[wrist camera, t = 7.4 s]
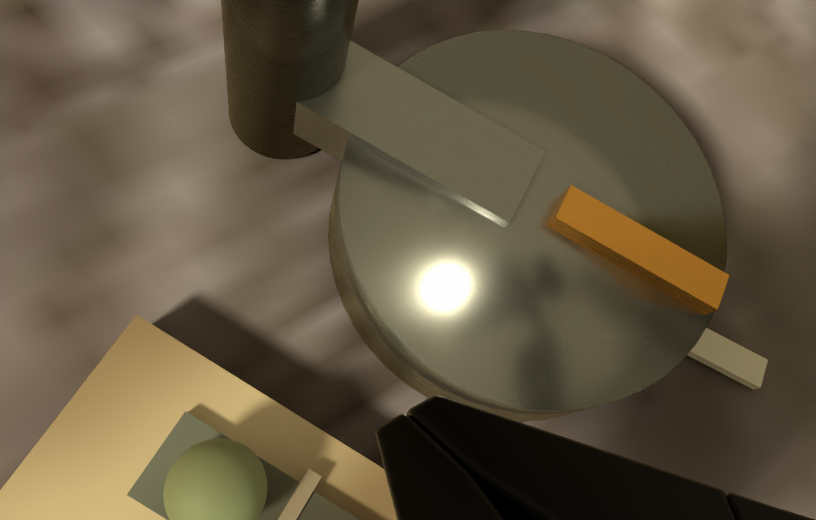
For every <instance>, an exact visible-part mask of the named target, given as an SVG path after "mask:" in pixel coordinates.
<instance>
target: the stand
mask: <svg viewBox="0 0 816 520" xmlns="http://www.w3.org/2000/svg"><path fill="white" fill-rule="evenodd" d="M0 520H397V517H396V513H395V509H394V505H393V502H392V498H391V494H390V490H389V486H388V482H387V478H386V474H385V470H384V469H383V468H382V467H380V466H378V465H377V464H375V463H374V462H372V461H370V460H369V459H367V458H366V457H364V456H362V455H361V454H359V453H358V452H356V451H354V450H353V449H351V448H350V447H348V446H346V445H345V444H343V443H341V442H340V441H338V440H337V439H335V438H333V437H332V436H330V435H329V434H327V433H325V432H324V431H322V430H321V429H319V428H317V427H316V426H314V425H313V424H311V423H309V422H308V421H306V420H305V419H303V418H301V417H300V416H298V415H297V414H295V413H293V412H292V411H290V410H289V409H287V408H285V407H284V406H282V405H281V404H279V403H277V402H276V401H274V400H272V399H271V398H269V397H268V396H266V395H264V394H263V393H261V392H260V391H258V390H256V389H255V388H253V387H252V386H250V385H248V384H247V383H245V382H244V381H242V380H240V379H239V378H237V377H236V376H234V375H232V374H231V373H229V372H228V371H226V370H224V369H223V368H221V367H220V366H218V365H216V364H215V363H213V362H212V361H210V360H208V359H207V358H205V357H204V356H202V355H200V354H199V353H197V352H195V351H194V350H192V349H191V348H189V347H187V346H186V345H184V344H183V343H181V342H179V341H178V340H176V339H175V338H173V337H171V336H170V335H168V334H167V333H165V332H163V331H162V330H160V329H159V328H157V327H155V326H154V325H152V324H151V323H149V322H147V321H146V320H144V319H143V318H141V317H139V316H138V315H136V316H135V317H134V319H133V320H132V321H131V323H130V324H129V325H128V326H127V328H126V329H125V330H124V332H123V333H122V334H121V335H120V337H119V338H118V339H117V341H116V342H115V343H114V344H113V346H112V347H111V348H110V350H109V351H108V352H107V354H106V355H105V356H104V357H103V359H102V360H101V361H100V363H99V364H98V365H97V366H96V368H95V369H94V370H93V372H92V373H91V374H90V375H89V377H88V378H87V379H86V381H85V382H84V383H83V384H82V386H81V387H80V388H79V390H78V391H77V392H76V394H75V395H74V396H73V397H72V399H71V400H70V401H69V403H68V404H67V405H66V406H65V408H64V409H63V410H62V412H61V413H60V414H59V415H58V417H57V418H56V419H55V421H54V422H53V423H52V425H51V426H50V427H49V428H48V430H47V431H46V432H45V434H44V435H43V436H42V437H41V439H40V440H39V441H38V443H37V444H36V445H35V446H34V448H33V449H32V450H31V452H30V453H29V454H28V455H27V457H26V458H25V459H24V461H23V462H22V463H21V465H20V466H19V467H18V468H17V470H16V471H15V472H14V474H13V475H12V476H11V477H10V479H9V480H8V481H7V483H6V484H5V485H4V486H3V488H2V489H1V490H0Z"/></svg>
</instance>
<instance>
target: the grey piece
mask: <svg viewBox="0 0 816 520" xmlns="http://www.w3.org/2000/svg"><path fill="white" fill-rule="evenodd" d="M358 1H359V0H221V7H222V21H223V35H224V49H225V63H226V78H227V92H228V106H229V117H230V122H231V125H232V128H233V129H234V131H235V133H236V135H237V136H238V137H239V139H240V140H241V141H242V142H243V143H244V144H245V145H246V146H247V147H249V148H250V149H252V150H253V151H255V152H257V153H259V154H261V155H264V156H266V157H270V158H274V159H295V158H299V157H303V156H305V155H308V154H310V153H312V152H313V151H315V150H316V149H318V148H319V149H321V150H323V151H325V152H326V153H328V154H330V155H332V156H333V157H335V158H337V159H339V160H341V161H342V163H341V167H340V171H339V175H338V179H337V183H336V187H335V191H334V195H333V200H332V205H331V210H330V217H329V234H328V238H329V251H330V261H331V265H332V270H333V275H334V279H335V283H336V286H337V289H338V292H339V294H340V297H341V300H342V302H343V305H344V307H345V309H346V311H347V313H348V315H349V317H350V319H351V321H352V323H353V325H354V326H355V328H356V330H357V331H358V333H359V334H360V335H361V337H362V338H363V340H364V341H365V343H366V344H367V345H368V347H369V348H370V349H371V350H372V352H373V353H374V354H375V355H376V356H377V357H378V358H379V359H380V360H381V361H382V363H383V364H384V365H385V366H386V367H387V368H388V369H389V370H391V371H392V372H393V373H394V374H395V375H396V376H398V377H399V378H400V379H401V380H402V381H404V382H405V383H406V384H407V385H409V386H410V387H412V388H413V389H415V390H417V391H418V392H420V393H421V394H423V395H424V396H426V397H427V398H430V397H432V396H442V397H445V398H448V399H451V400H454V401H457V402H460V403H463V404H466V405H469V406H472V407H475V408H478V409H481V410H484V411H487V412H490V413H493V414H496V415H499V416H502V417H505V418H508V419H511V420H514V421H517V422H527V421H537V420H546V419H550V418H554V417H558V416H562V415H566V414H570V413H574V412H577V411H581V410H585V409H589V408H592V407H596V406H600V405H603V404H607V403H611V402H614V401H618V400H620V399H623V398H625V397H628V396H630V395H632V394H635V393H637V392H640V391H642V390H643V389H645V388H647V387H648V386H650V385H652V384H653V383H655V382H656V381H658V380H660V379H661V378H663V377H664V376H665V375H666V374H667V373H669V372H670V371H671V370H672V369H673V368H674V367H676V366H677V365H678V364H679V363H680V362H681V361H682V360H683V359H684V358H685V357H686V355H687V354H688V353H689V352H690V351H691V350H692V348H693V347H694V346H695V345H696V344H697V342H698V340H699V339H700V337H701V336H702V334H703V332H704V331H705V329H706V327H707V326H708V324H709V322H710V320H711V317H712V315H713V313H714V311H716V310H718V307H719V305H720V302H721V299H722V296H723V293H724V290H725V287H726V284H727V281H728V278H729V275H728V274H726V273H725V266H726V258H727V249H726V227H725V220H724V212H723V207H722V204H721V200H720V196H719V192H718V188H717V185H716V183H715V180H714V177H713V175H712V172H711V170H710V167H709V165H708V163H707V161H706V159H705V157H704V155H703V153H702V151H701V149H700V147H699V145H698V143H697V142H696V140H695V139H694V137H693V136H692V134H691V133H690V131H689V130H688V128H687V127H686V125H685V124H684V122H683V121H682V120H681V119H680V118H679V116H678V115H677V114H676V113H675V112H674V110H673V109H672V108H671V107H670V105H669V104H668V103H667V102H666V101H665V100H664V99H663V98H662V97H661V96H660V95H659V94H658V93H657V92H655V91H654V90H653V89H652V88H651V87H650V86H649V85H648V84H646V83H645V82H644V81H643V80H641V79H640V78H639V77H638V76H636V75H635V74H634V73H633V72H631V71H630V70H628V69H627V68H625V67H623V66H622V65H620V64H619V63H617V62H616V61H614V60H613V59H611V58H609V57H607V56H605V55H603V54H601V53H599V52H597V51H595V50H593V49H591V48H588V47H586V46H583V45H581V44H578V43H575V42H573V41H570V40H567V39H563V38H559V37H556V36H552V35H548V34H543V33H536V32H529V31H520V30H493V31H482V32H474V33H470V34H465V35H461V36H456V37H453V38H450V39H447V40H445V41H442V42H439V43H436V44H434V45H432V46H430V47H428V48H426V49H424V50H422V51H420V52H418V53H417V54H415V55H413V56H412V57H410V58H409V59H408V60H406V61H405V62H403V63H402V64H401V65H399V66H398V67H396V66H394V65H393V64H391V63H389V62H387V61H386V60H384V59H382V58H380V57H379V56H377V55H375V54H373V53H372V52H370V51H368V50H366V49H365V48H363V47H361V46H359V45H358V44H356V43H354V42H352V41H351V35H352V30H353V25H354V21H355V16H356V11H357V6H358Z"/></svg>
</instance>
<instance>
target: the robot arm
mask: <svg viewBox="0 0 816 520" xmlns="http://www.w3.org/2000/svg"><path fill="white" fill-rule="evenodd" d="M376 439H377V443H378V446H379V450H380V454H381V458H382V462H383V466H384V470H385V474H386V478H387V482H388V486H389V490H390V494H391V498H392V502H393V505H394V509H395V513H396V517H397V520H815V519H811V518H808V517H805V516H802V515H798V514H795V513H792V512H789V511H785V510H782V509H779V508H776V507H773V506H769V505H766V504H763V503H760V502H757V501H754V500H751V499H748V498H745V497H742V496H739V495H736V494H733V493H729V494H728V495H727V497H726V495H725V493H724V492H723V491H722V490H720V489H717V488H714V487H711V486H709V485H706V484H703V483H700V482H697V481H694V480H691V479H688V478H685V477H682V476H679V475H676V474H673V473H670V472H667V471H664V470H661V469H658V468H655V467H652V466H649V465H646V464H643V463H640V462H637V461H634V460H631V459H628V458H625V457H622V456H619V455H616V454H613V453H610V452H607V451H604V450H601V449H598V448H595V447H592V446H589V445H586V444H583V443H580V442H577V441H574V440H571V439H568V438H565V437H562V436H559V435H556V434H553V433H550V432H547V431H544V430H541V429H538V428H535V427H532V426H529V425H526V424H523V423H520V422H517V421H514V420H511V419H508V418H505V417H502V416H499V415H496V414H493V413H490V412H487V411H484V410H481V409H478V408H475V407H472V406H469V405H466V404H463V403H460V402H457V401H454V400H451V399H448V398H445V397H442V396H432V397H430V398H429V399H427V400H425V401H423V402H422V403H420V404H418V405H416V406H415V407H413V408H411V409H410V410H409V411H408V413H407V415H404V414H401V415H399V416H397V417H395V418H394V419H392V420H390V421H388V422H387V423H385V424H383V425H381V426H380V427H378V428H377V430H376Z"/></svg>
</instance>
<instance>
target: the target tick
mask: <svg viewBox="0 0 816 520" xmlns="http://www.w3.org/2000/svg"><path fill="white" fill-rule="evenodd" d="M687 355H688V356H690V357H691V358H693V359H695V360H697V361H699V362H701V363H703V364H705V365H707V366H709V367H711V368H713V369H715V370H716V371H718V372H720V373H722V374H724V375H726V376H728V377H730V378H732V379H734V380H736V381H738V382H740V383H741V384H743V385H745V386H747V387H749V388H751V389H758V388H761V385H762V381H763V377H764V373H765V370H766V366H767V362H768V360H767V359H765V358H763V357H761V356H760V355H758V354H756V353H754V352H752V351H750V350H748V349H746V348H744V347H742V346H740V345H738V344H737V343H735V342H733V341H731V340H729V339H727V338H725V337H723V336H721V335H719V334H717V333H716V332H714V331H712V330H710V329H708V328H706V329H705V331H704V332H703V334H702V336H701V337H700V339H699V340H698V342H697V344H696V345H695V346H694V347H693V348H692V350H691V351H690V352H689V353H688V354H687Z"/></svg>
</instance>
